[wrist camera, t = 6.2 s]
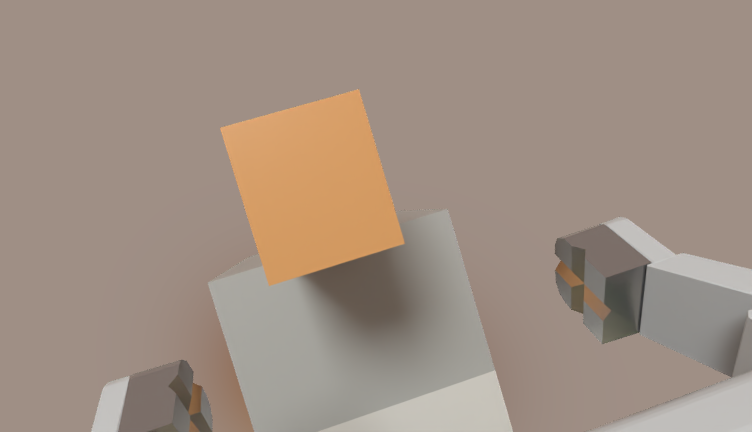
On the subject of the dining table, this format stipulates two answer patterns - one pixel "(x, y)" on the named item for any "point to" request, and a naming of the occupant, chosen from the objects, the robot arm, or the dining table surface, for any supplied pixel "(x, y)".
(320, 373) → the tall tower
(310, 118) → the orange block
